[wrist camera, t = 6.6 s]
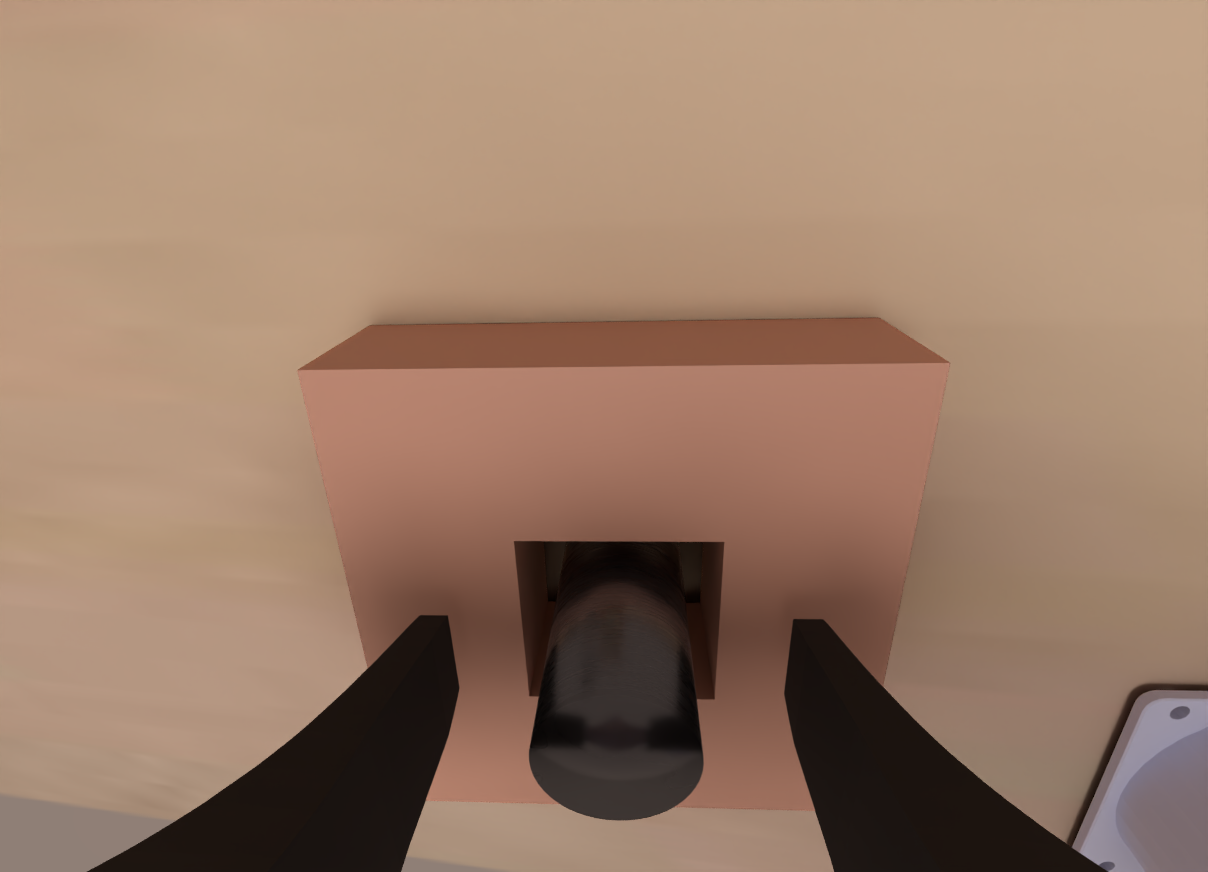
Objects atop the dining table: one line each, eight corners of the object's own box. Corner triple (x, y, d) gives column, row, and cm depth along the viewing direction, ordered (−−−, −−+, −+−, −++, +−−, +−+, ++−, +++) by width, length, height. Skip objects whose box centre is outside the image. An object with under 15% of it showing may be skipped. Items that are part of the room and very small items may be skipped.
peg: (679, 488, 16) (707, 699, 10) (676, 581, 18) (700, 821, 11) (565, 488, 16) (522, 695, 10) (571, 581, 18) (534, 818, 11)
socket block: (879, 317, 14) (950, 363, 11) (819, 702, 19) (856, 811, 16) (370, 325, 15) (297, 370, 12) (437, 696, 20) (399, 799, 17)
